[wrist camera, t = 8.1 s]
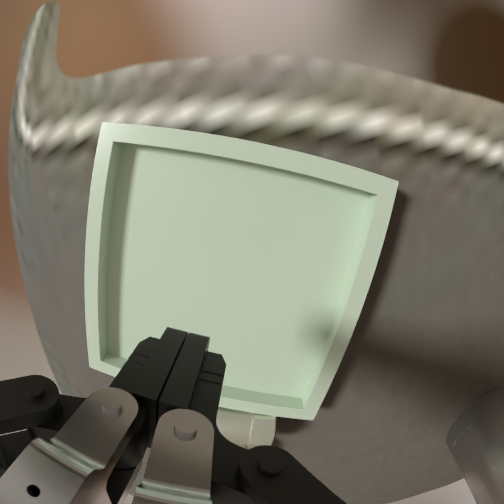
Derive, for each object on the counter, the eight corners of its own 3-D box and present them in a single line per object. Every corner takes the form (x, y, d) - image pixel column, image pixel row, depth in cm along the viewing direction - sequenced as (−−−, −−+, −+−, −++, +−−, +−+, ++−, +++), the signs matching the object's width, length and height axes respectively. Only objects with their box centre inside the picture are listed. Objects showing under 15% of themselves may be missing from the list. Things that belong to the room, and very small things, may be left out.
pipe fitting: (259, 446, 21) (274, 393, 20) (260, 480, 17) (278, 430, 16) (167, 433, 21) (166, 377, 19) (158, 466, 17) (152, 412, 16)
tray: (384, 180, 15) (398, 181, 13) (309, 401, 19) (313, 420, 17) (118, 127, 15) (102, 122, 13) (101, 352, 19) (89, 367, 17)
